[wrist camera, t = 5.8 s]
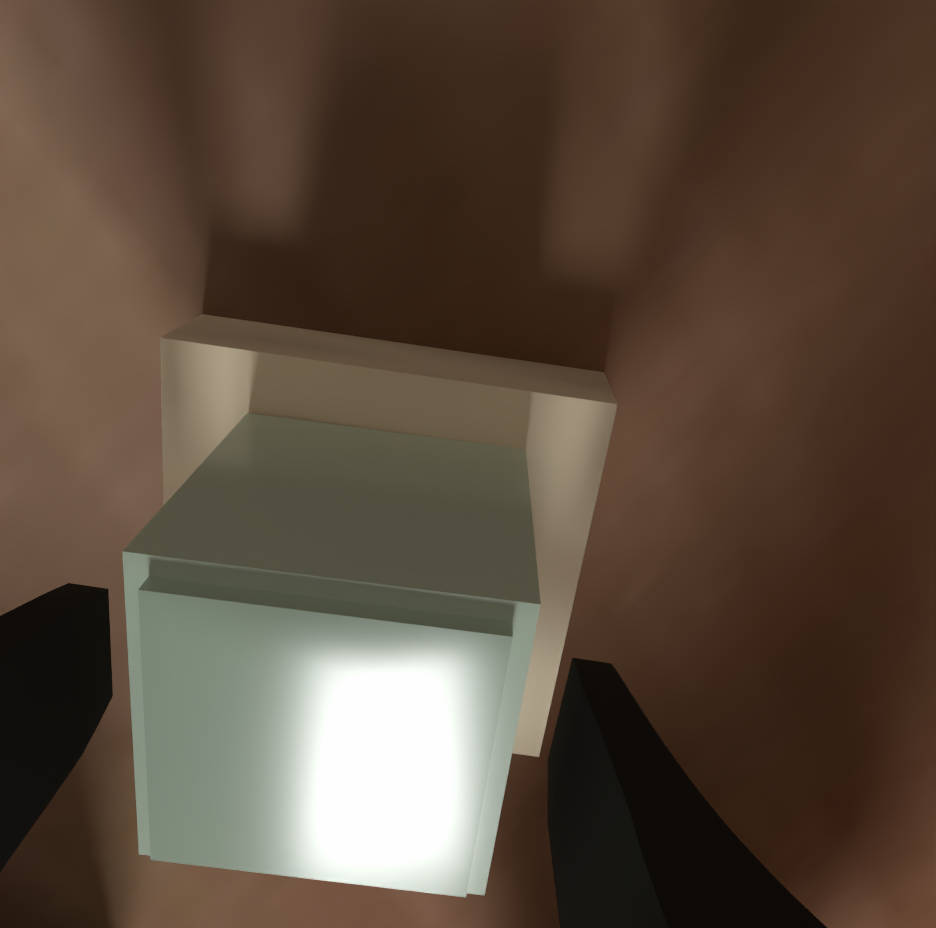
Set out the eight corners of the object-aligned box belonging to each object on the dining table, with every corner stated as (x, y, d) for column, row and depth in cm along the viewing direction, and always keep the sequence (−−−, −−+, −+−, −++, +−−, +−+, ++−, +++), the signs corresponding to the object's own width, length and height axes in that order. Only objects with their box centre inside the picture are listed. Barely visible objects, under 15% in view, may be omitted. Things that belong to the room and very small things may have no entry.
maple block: (535, 681, 19) (538, 757, 17) (209, 635, 19) (166, 704, 16) (601, 365, 16) (617, 404, 13) (211, 308, 16) (160, 337, 13)
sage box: (487, 674, 16) (484, 914, 11) (243, 644, 16) (129, 872, 11) (525, 449, 14) (542, 618, 9) (246, 412, 14) (110, 565, 9)
